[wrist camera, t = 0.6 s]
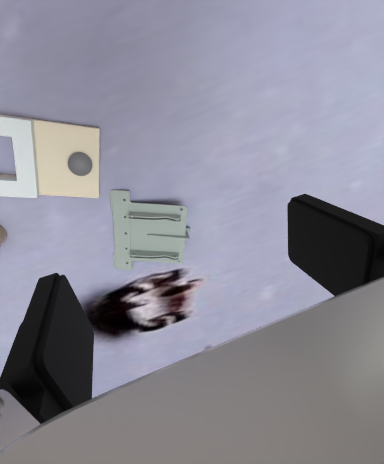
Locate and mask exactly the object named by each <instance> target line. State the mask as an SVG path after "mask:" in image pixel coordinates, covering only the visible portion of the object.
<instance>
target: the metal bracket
mask: <svg viewBox="0 0 384 464" xmlns="http://www.w3.org/2000/svg"><path fill="white" fill-rule="evenodd" d="M123 199H125V201H124V200H123ZM110 205H111V210H112V213H113V229H114V245H115V253H113V262H114V267H115V268H116V269H118V270H132V268H133V264H132V262H133V261H148V262H166V263H183V262H184V247H185V239H187V240H188V239H189V235H188V231H189V232H190V227H189V228H188V227H186V217H187V207H186V206H180V205H164V204H148V203H133V202H131V200H130V191H127V190H111V191H110ZM180 208H183V210H180ZM124 216H126V218H125V217H124ZM125 232H126V233H127V234H125ZM126 248H127V249H126ZM178 259H180V261H177V260H178ZM126 262H128V264H127V263H126Z"/></svg>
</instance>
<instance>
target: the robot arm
mask: <svg viewBox="0 0 384 464" xmlns="http://www.w3.org/2000/svg"><path fill="white" fill-rule="evenodd" d="M288 255H289V258H290V260H291V261H292V262H293V263H294V264H295V265H296V266H298V267H299V268H300V269H301V270H303V271H304V272H305V273H306V274H308V275H309V276H310V277H312V278H313V279H314V280H315V281H317V282H318V283H319V284H320V285H322V286H323V287H324V288H325V289H327V290H328V291H329V292H330V293H332V294H333V295H334V296H335V297H332V298H330V299H327V300H325V301H322V302H320V303H318V304H315V305H313V306H310V307H308V308H305V309H303V310H300V311H298V312H296V313H293V314H291V315H288V316H286V317H284V318H281V319H279V320H276V321H274V322H271V323H269V324H267V325H264V326H262V327H259V328H257V329H255V330H252V331H250V332H247V333H245V334H242V335H240V336H238V337H235V338H233V339H230V340H228V341H226V342H223V343H221V344H218V345H216V346H214V347H211V348H209V349H207V350H204V351H202V352H199V353H197V354H195V355H192V356H190V357H188V358H185V359H183V360H180V361H178V362H176V363H173V364H171V365H168V366H166V367H164V368H161V369H159V370H157V371H154V372H152V373H149V374H147V375H145V376H142V377H140V378H138V379H135V380H133V381H131V382H128V383H126V384H124V385H121V386H119V387H117V388H114V389H112V390H110V391H108V392H105V393H103V394H101V395H99V396H97V397H95V398H92V373H93V344H94V333H93V329H92V326H91V324H90V322H89V320H88V318H87V316H86V314H85V312H84V311H83V309H82V307H81V305H80V303H79V301H78V299H77V297H76V295H75V293H74V291H73V289H72V288H71V286H70V284H69V282H68V280H67V278H66V276H65V275H61V276H60V275H59V274H58V273H54V274H51V275H48V276H45V277H42V278H39V280H38V283H37V285H36V288H35V291H34V293H33V296H32V299H31V301H30V304H29V307H28V309H27V312H26V315H25V318H24V320H23V322H22V323H21V325H20V327H19V330H18V332H17V335H16V337H15V340H14V343H13V345H12V348H11V351H10V353H9V356H8V359H7V361H6V364H5V366H4V369H3V372H2V374H1V377H0V464H384V225H381V224H379V223H376V222H374V221H371V220H369V219H366V218H364V217H362V216H359V215H357V214H354V213H352V212H349V211H347V210H344V209H342V208H339V207H337V206H334V205H332V204H329V203H327V202H325V201H322V200H320V199H317V198H315V197H312V196H310V195H307V194H303V195H300V196H297V197H293V198H292V199H291V200H290V202H289V203H288Z"/></svg>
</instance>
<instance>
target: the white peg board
mask: <svg viewBox="0 0 384 464" xmlns="http://www.w3.org/2000/svg"><path fill="white" fill-rule="evenodd" d="M0 136H7V137H12V142H13V150H14V159H15V167H16V175H6V174H0V196H6V197H26V198H38V196H39V195H53V196H71V197H89V198H99V142H100V128H95V127H88V126H81V125H74V124H66V123H59V122H52V121H45V120H37V119H30V118H23V117H16V116H9V115H1V114H0Z"/></svg>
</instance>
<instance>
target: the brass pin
mask: <svg viewBox="0 0 384 464" xmlns="http://www.w3.org/2000/svg"><path fill="white" fill-rule="evenodd" d="M6 237H7V233H6V230H5V229H4V228H3V227H2V226H1V225H0V246H1V245H2V243H3V242H4V240H5V239H6Z"/></svg>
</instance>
